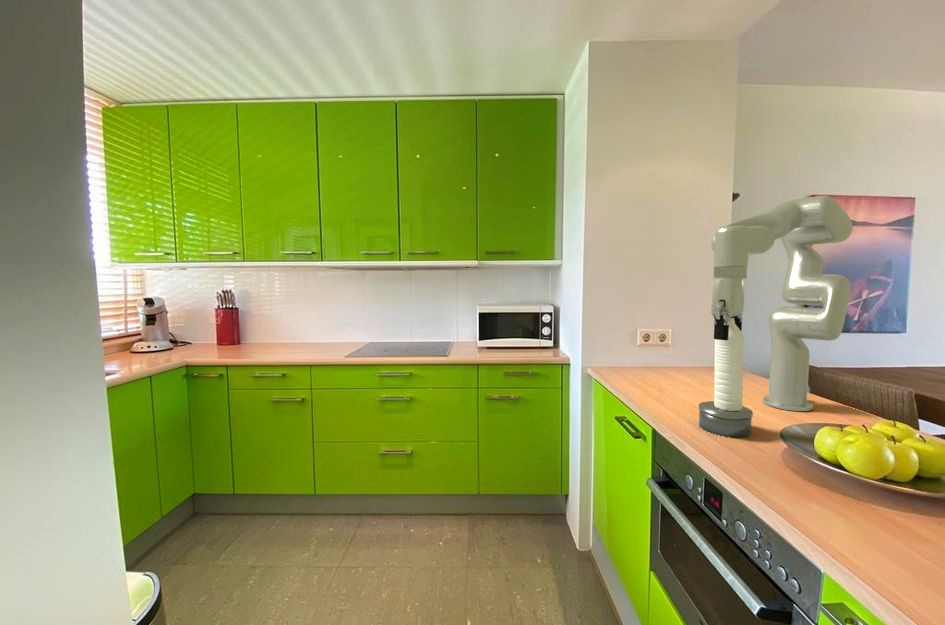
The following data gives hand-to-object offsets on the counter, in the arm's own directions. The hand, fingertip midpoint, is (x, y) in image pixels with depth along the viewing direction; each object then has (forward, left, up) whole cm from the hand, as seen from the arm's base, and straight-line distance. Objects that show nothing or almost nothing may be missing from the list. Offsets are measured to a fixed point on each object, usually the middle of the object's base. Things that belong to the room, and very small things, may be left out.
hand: (727, 337), depth 104 cm
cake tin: (0, 0, -26) cm, 26 cm away
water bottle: (-2, 0, -20) cm, 20 cm away
